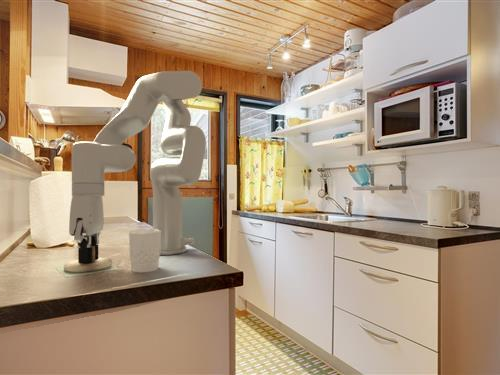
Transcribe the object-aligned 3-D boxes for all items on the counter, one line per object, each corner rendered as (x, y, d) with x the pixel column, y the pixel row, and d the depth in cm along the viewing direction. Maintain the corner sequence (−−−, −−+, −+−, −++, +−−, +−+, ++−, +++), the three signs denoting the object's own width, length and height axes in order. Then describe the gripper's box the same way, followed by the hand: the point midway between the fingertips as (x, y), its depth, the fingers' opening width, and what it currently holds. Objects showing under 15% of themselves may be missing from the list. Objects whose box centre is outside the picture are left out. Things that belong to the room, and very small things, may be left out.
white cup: (143, 276, 75) (143, 234, 75) (121, 271, 79) (121, 232, 79) (167, 269, 82) (167, 230, 82) (145, 265, 86) (146, 228, 86)
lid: (104, 259, 89) (103, 241, 89) (118, 266, 80) (118, 247, 80) (59, 266, 81) (59, 246, 81) (69, 274, 73) (69, 253, 73)
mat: (104, 262, 89) (104, 261, 89) (119, 270, 80) (119, 268, 80) (55, 269, 81) (55, 267, 81) (65, 279, 72) (65, 277, 72)
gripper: (87, 190, 89) (87, 255, 89) (56, 190, 72) (56, 270, 72) (114, 190, 89) (114, 254, 89) (90, 190, 73) (90, 269, 73)
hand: (88, 260), depth 81 cm, fingers closed on lid, 3 cm apart
